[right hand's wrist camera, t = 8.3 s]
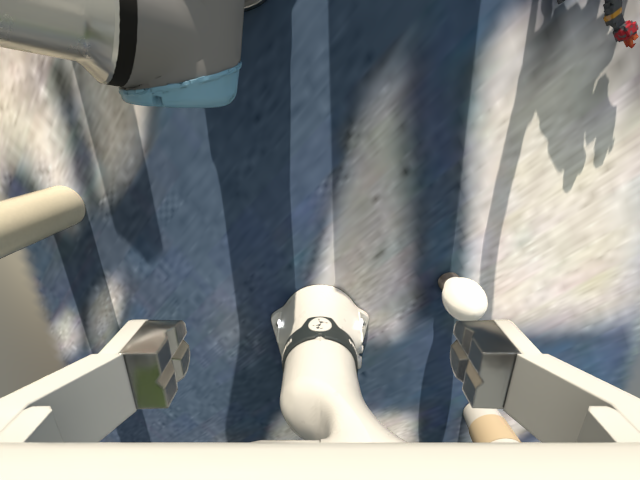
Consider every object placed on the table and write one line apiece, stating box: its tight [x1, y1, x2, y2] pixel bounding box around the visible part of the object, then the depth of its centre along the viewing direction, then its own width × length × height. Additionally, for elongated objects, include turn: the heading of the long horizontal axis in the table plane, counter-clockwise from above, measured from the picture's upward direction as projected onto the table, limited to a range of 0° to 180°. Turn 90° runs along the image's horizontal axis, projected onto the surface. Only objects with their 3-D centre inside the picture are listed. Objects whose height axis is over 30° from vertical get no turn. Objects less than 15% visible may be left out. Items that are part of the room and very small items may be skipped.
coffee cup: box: [463, 403, 521, 443], centre depth 67 cm, size 9×9×15 cm
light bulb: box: [438, 273, 488, 321], centre depth 58 cm, size 7×7×11 cm
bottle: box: [0, 186, 85, 259], centre depth 48 cm, size 7×7×22 cm
